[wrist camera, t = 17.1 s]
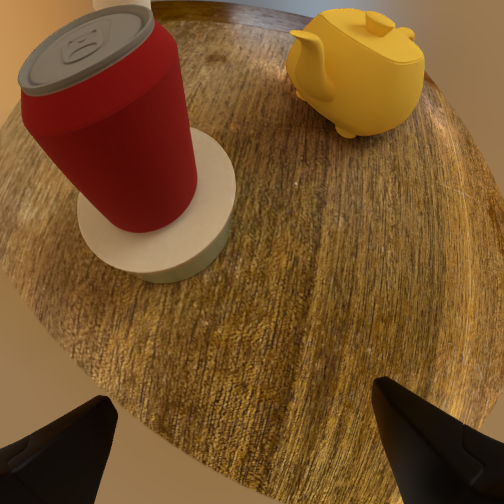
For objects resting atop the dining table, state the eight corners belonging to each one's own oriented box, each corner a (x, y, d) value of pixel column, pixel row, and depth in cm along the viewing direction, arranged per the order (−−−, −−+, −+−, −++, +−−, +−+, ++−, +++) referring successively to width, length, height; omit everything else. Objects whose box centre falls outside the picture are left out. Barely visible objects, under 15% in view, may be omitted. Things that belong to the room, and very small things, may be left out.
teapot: (230, 99, 27) (233, -3, 15) (348, 56, 31) (374, -12, 19) (320, 189, 24) (378, 87, 12) (421, 119, 29) (469, 55, 17)
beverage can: (179, 135, 19) (152, -14, 8) (216, 210, 18) (201, 38, 6) (95, 173, 18) (15, 49, 6) (118, 255, 16) (-11, 143, 5)
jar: (120, 306, 20) (92, 297, 15) (94, 186, 23) (71, 157, 18) (256, 255, 22) (263, 233, 17) (208, 143, 25) (205, 106, 20)
